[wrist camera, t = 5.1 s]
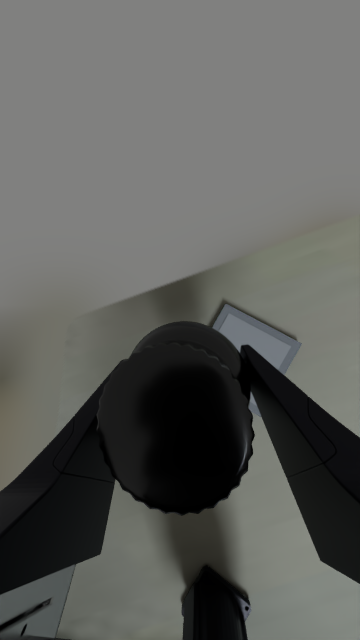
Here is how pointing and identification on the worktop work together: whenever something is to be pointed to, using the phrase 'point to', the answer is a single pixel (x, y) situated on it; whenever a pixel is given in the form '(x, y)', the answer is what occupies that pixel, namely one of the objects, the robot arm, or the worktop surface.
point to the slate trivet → (257, 340)
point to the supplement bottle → (178, 419)
